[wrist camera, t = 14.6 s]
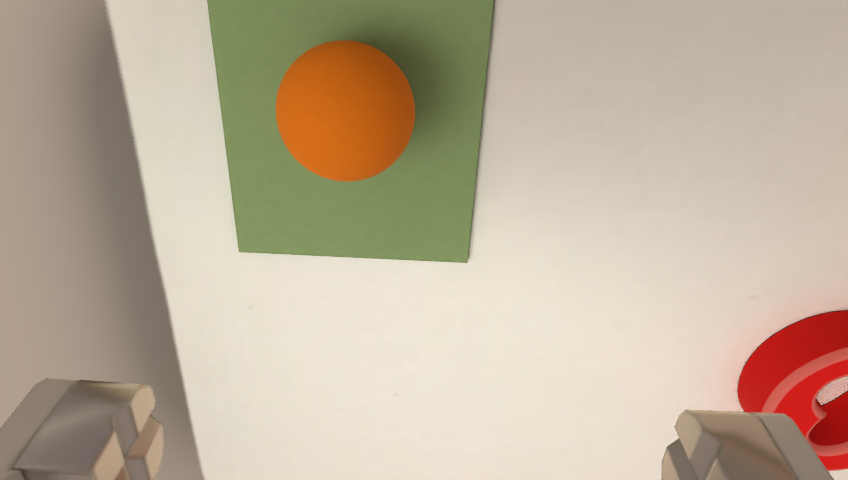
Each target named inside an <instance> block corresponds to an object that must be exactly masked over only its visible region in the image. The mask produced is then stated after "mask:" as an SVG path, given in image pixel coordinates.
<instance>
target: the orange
mask: <svg viewBox="0 0 848 480" xmlns="http://www.w3.org/2000/svg"><path fill="white" fill-rule="evenodd" d="M276 120H277V125H278V129H279V132H280V135H281V137H282V140H283V142H284V144H285V146H286V147H287V149H288V150H289V152H290V153H291V154H292V155H293V157H294V158H295V159H296V160H297V161H298V162H299V163H300V164H301V165H303V166H304V167H305V168H307V169H308V170H310V171H311V172H313V173H315V174H317V175H319V176H321V177H324V178H327V179H331V180H336V181H346V182H349V181H359V180H364V179H367V178H371V177H373V176H375V175H377V174H379V173H381V172H383V171H384V170H386V169H387V168H389V167H390V166H391V165H392V164H393V163H394V162H395V161H396V160H397V159H398V158H399V157H400V155H401V154H402V153H403V151H404V150H405V148H406V146H407V144H408V142H409V140H410V137H411V135H412V131H413V127H414V122H415V105H414V99H413V94H412V91H411V88H410V85H409V83H408V81H407V79H406V77H405V75H404V74H403V72H402V71H401V69H400V68H399V67H398V66H397V65H396V63H395V62H394V61H393V60H392V59H391V58H389V57H388V56H387V55H386V54H384V53H383V52H381V51H380V50H378V49H376V48H374V47H372V46H370V45H367V44H364V43H361V42H356V41H348V40H340V41H331V42H326V43H323V44H320V45H317V46H315V47H313V48H311V49H309V50H308V51H306V52H305V53H303V54H302V55H301V56H299V57H298V58H297V59H296V60H295V61H294V62H293V63H292V65H291V66H290V67H289V69H288V70H287V72H286V73H285V75H284V77H283V79H282V81H281V83H280V86H279V89H278V93H277V98H276Z"/></svg>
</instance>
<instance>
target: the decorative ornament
mask: <svg viewBox="0 0 848 480" xmlns="http://www.w3.org/2000/svg"><path fill="white" fill-rule="evenodd" d="M845 376H848V311H838V312H831V313H825V314H821V315H817V316H813V317H810V318H807V319H804V320H801V321H799V322H797V323H795V324H792V325H790V326H788V327H786V328H785V329H783V330H781V331H779V332H778V333H776V334H775V335H773V336H772V337H770V338H769V339H768V340H766V341H765V342H764V343H763V344H762V345H761V346H759V347H758V349H757V350H756V351H755V352H754V353H753V354H752V355H751V357H750V358H749V360H748V361H747V363H746V364H745V366H744V368H743V370H742V373H741V376H740V379H739V383H738V398H739V401H740V404H741V407H742V408H743V410H744V412H747V413H751V412H756V413H782V414H786V415H787V416H788V417H790V418H791V419H792V420H793V421H794V422H795V424H796V425H797V426H798V428H799V429H800V431H801V432H802V434H803V435H804V437H805V438H806V440H807V441H808V443H809V444H810V445H811V447H812V448H813V450H814V451H815V453H816V454H817V456H818V457H819V459H820V460H821V462H822V463H823V464H824V466H825V467H826V469H827V470H828V471H834V470H843V469H848V391H847V392H846V393H845V394H843V395H842V396H840V397H838V398H837V399H835V400H833V401H832V402H830V403H828V404H825V405H823V406H821V405H820V403H819V402H818V401H817V399H816V397H817V394H818V393H819V391H820V390H821V389H822V388H823V387H824V386H826V385H827V384H829V383H830V382H832V381H834V380H836V379H839V378H842V377H845Z"/></svg>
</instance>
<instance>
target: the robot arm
mask: <svg viewBox="0 0 848 480" xmlns="http://www.w3.org/2000/svg"><path fill="white" fill-rule="evenodd" d="M155 403H156V401H155V397H154V394H153V390H152V387H150V386H147V385H143V384H130V383H116V382H103V381H89V380H66V379H52V378H46V379H44V380H42V381H40V382H39V383H37V384H35V385H34V387H33V388H32V389H31V390H30V392H29V393H28V394H27V395H26V397H25V398H24V399H23V400H22V402H21V403H20V404H19V405H18V407H17V408H16V409H15V411H14V412H13V413H12V414H11V416H10V417H9V418H8V419H7V421H6V422H5V423H4V424H3V426H2V427H1V428H0V480H155V478H156V475H157V473H158V471H159V468H160V464H161V459H162V455H163V450H164V435H163V431H162V426H161V423H160V422H159V421H158V420H156V419H155V418H154V417H153V416H152V415H151V414H150V413H151V411H152V409H153V408H154V406H155ZM675 429H676V431H677V434H678V436H679V439H677V440H676V441H675V442H673V443H672V444H670V445H669V446H668V447H667V448H666V451H665V454H664V457H663V460H662V480H834V479H833V478H832V476H831V475H830V473H829V472H828V470H827V469H826V467H825V466H824V464H823V463H822V462H821V460H820V459H819V457H818V456H817V454H816V453H815V451H814V450H813V448H812V447H811V445H810V444H809V443H808V441H807V440H806V438H805V437H804V435H803V434H802V432H801V431H800V429H799V428H798V426H797V425H796V424H795V422H794V421H793V420H792V419H791V418H790V417H788V416H787V415H786V414H782V413H756V412H751V413H747V412H731V411H704V410H685V411H684V412H683V413H682V414H680V415H679V417H678V420H677V422H676V425H675Z"/></svg>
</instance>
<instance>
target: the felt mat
mask: <svg viewBox="0 0 848 480" xmlns="http://www.w3.org/2000/svg"><path fill="white" fill-rule="evenodd" d="M207 2H208V10H209V18H210V26H211V34H212V42H213V50H214V58H215V66H216V74H217V82H218V90H219V97H220V105H221V113H222V121H223V129H224V137H225V145H226V153H227V161H228V169H229V177H230V185H231V193H232V200H233V208H234V216H235V224H236V232H237V240H238V248H239V252H250V253H271V254H292V255H313V256H334V257H355V258H377V259H398V260H419V261H440V262H461V263H467V262H468V252H469V242H470V232H471V222H472V212H473V202H474V192H475V182H476V172H477V162H478V152H479V143H480V133H481V123H482V113H483V103H484V93H485V83H486V73H487V63H488V53H489V43H490V33H491V23H492V13H493V3H494V0H207ZM340 40H348V41H356V42H361V43H364V44H367V45H370V46H372V47H374V48H376V49H378V50H380V51H381V52H383V53H384V54H386V55H387V56H388V57H389V58H391V59H392V60H393V61H394V62H395V63H396V65H397V66H398V67H399V68H400V69H401V71H402V72H403V74H404V75H405V77H406V79H407V81H408V83H409V85H410V88H411V91H412V94H413V99H414V105H415V122H414V127H413V131H412V135H411V137H410V140H409V142H408V144H407V146H406V148H405V150H404V151H403V153H402V154H401V155H400V157H399V158H398V159H397V160H396V161H395V162H394V163H393V164H392V165H391V166H390V167H389V168H387V169H386V170H384V171H383V172H381V173H379V174H377V175H375V176H373V177H371V178H367V179H364V180H359V181H349V182H346V181H336V180H331V179H327V178H324V177H321V176H319V175H317V174H315V173H313V172H311V171H310V170H308V169H307V168H305V167H304V166H303V165H301V164H300V163H299V162H298V161H297V160H296V159H295V158H294V157H293V155H292V154H291V153H290V152H289V150H288V149H287V147H286V146H285V144H284V142H283V140H282V137H281V135H280V132H279V129H278V125H277V120H276V98H277V93H278V89H279V86H280V83H281V81H282V79H283V77H284V75H285V73H286V72H287V70H288V69H289V67H290V66H291V65H292V63H293V62H294V61H295V60H296V59H297V58H298V57H299V56H301V55H302V54H303V53H305V52H306V51H308V50H309V49H311V48H313V47H315V46H317V45H320V44H323V43H326V42H331V41H340Z"/></svg>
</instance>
